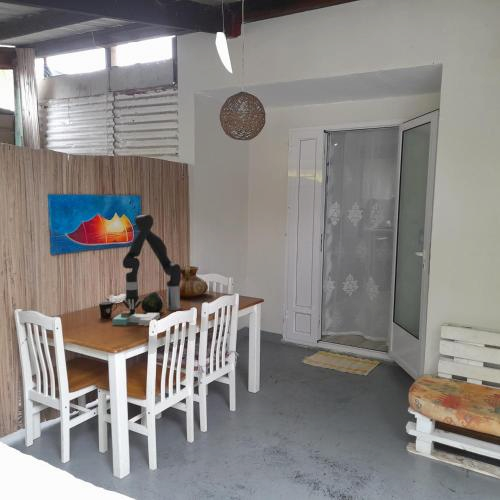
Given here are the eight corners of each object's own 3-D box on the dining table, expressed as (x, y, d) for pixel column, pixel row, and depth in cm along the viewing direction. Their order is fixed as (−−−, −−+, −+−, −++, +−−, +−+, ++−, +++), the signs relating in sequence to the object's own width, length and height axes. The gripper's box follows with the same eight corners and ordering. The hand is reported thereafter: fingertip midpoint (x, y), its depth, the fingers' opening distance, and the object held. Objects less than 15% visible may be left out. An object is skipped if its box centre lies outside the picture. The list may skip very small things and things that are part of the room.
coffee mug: (99, 319, 298) (98, 304, 297) (99, 316, 306) (99, 301, 305) (117, 318, 301) (117, 303, 300) (117, 315, 309) (117, 300, 308)
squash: (135, 307, 309) (149, 291, 308) (140, 303, 324) (154, 287, 323) (150, 321, 309) (164, 305, 308) (155, 316, 324) (169, 301, 323)
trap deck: (123, 317, 303) (123, 311, 303) (159, 318, 301) (159, 312, 300) (112, 324, 286) (112, 318, 285) (151, 326, 283) (150, 319, 283)
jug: (166, 294, 378) (165, 264, 375) (199, 290, 392) (199, 262, 389) (178, 301, 352) (177, 269, 349) (213, 297, 366) (213, 267, 363)
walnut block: (123, 314, 296) (123, 311, 295) (131, 315, 295) (131, 311, 295) (121, 316, 291) (120, 313, 290) (128, 317, 290) (128, 313, 290)
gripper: (143, 287, 294) (144, 313, 296) (124, 287, 295) (124, 312, 297) (139, 289, 287) (140, 316, 288) (119, 289, 288) (120, 315, 290)
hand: (132, 314), depth 293 cm, fingers closed
